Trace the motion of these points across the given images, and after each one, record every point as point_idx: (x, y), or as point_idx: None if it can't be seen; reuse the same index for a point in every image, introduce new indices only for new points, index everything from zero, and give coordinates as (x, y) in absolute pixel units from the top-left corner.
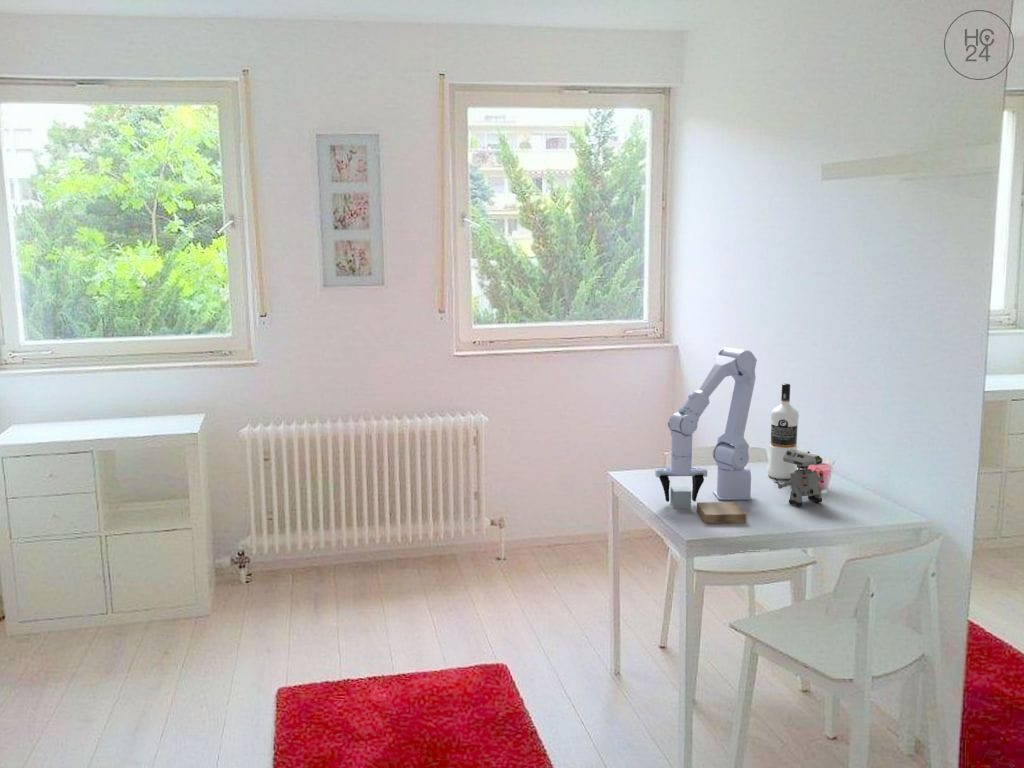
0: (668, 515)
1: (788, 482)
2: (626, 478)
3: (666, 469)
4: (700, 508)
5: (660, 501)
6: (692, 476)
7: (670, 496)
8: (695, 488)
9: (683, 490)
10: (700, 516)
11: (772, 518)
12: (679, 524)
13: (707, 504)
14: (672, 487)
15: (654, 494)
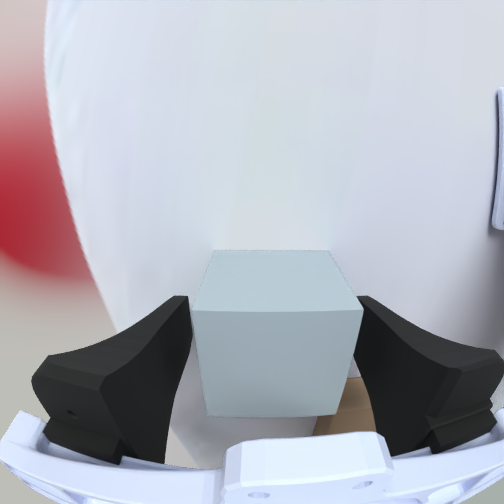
0: (188, 413)
1: None
2: None
3: (82, 482)
4: None
5: (155, 218)
6: (438, 383)
7: (207, 272)
8: (375, 409)
9: (285, 404)
10: (315, 428)
11: (494, 397)
12: (221, 464)
13: (370, 426)
14: (207, 337)
15: (138, 63)
